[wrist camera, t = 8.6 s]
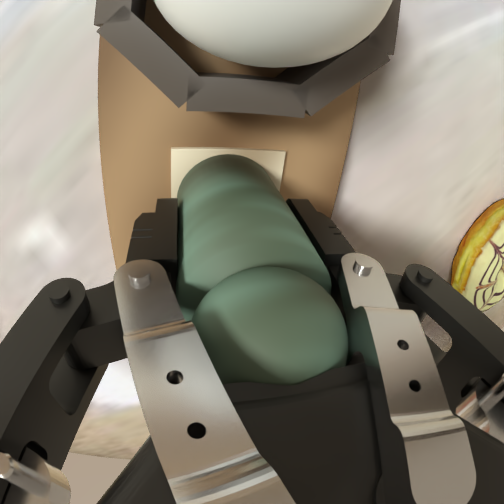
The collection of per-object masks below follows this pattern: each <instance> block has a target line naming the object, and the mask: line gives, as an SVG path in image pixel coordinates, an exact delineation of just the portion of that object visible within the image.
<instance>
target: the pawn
mask: <svg viewBox="0 0 504 504" xmlns="http://www.w3.org/2000/svg"><path fill="white" fill-rule="evenodd" d="M177 198H178V236H177V257H178V277H177V281H176V299H177V302H178V304H179V307H180V309H181V312H182V314H183V316H184V319H185V321H189V320H190V321H191V322H192V323H193V324H194V326H195V328H196V330H197V332H198V334H199V337H200V339H201V341H202V343H203V345H204V348H205V350H206V352H207V354H208V356H209V358H210V360H211V362H212V364H213V366H214V369H215V371H216V373H217V375H218V377H219V379H220V381H221V383H222V384H229V383H240V382H255V383H265V384H277V385H290V386H292V385H298V384H300V383H303V382H305V381H307V380H310V379H312V378H314V377H316V376H318V375H321V374H323V373H325V372H327V371H329V370H331V369H335V368H340V367H345V365H346V360H347V355H348V335H347V329H346V325H345V321H344V318H343V316H342V313H341V311H340V309H339V307H338V306H337V304H336V303H335V301H334V299H333V298H332V297H331V286H332V285H331V278H330V275H329V272H328V270H327V268H326V267H325V265H324V263H323V261H322V260H321V258H320V256H319V255H318V253H317V251H316V250H315V248H314V246H313V245H312V243H311V242H310V240H309V238H308V237H307V235H306V233H305V232H304V230H303V229H302V227H301V225H300V224H299V222H298V220H297V219H296V217H295V216H294V214H293V212H292V211H291V209H290V208H289V206H288V205H287V203H286V201H285V200H284V198H283V197H282V195H281V194H280V192H279V190H278V189H277V187H276V186H275V184H274V183H273V181H272V180H271V178H270V177H269V175H268V174H267V172H266V171H265V170H264V169H263V167H261V166H260V165H259V164H258V163H256V162H255V161H253V160H251V159H249V158H247V157H244V156H241V155H235V154H222V155H216V156H212V157H210V158H207V159H205V160H203V161H201V162H199V163H198V164H196V165H195V166H194V167H193V168H192V169H190V170H189V172H188V173H187V174H186V175H185V177H184V178H183V180H182V182H181V184H180V186H179V189H178V193H177Z"/></svg>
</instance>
